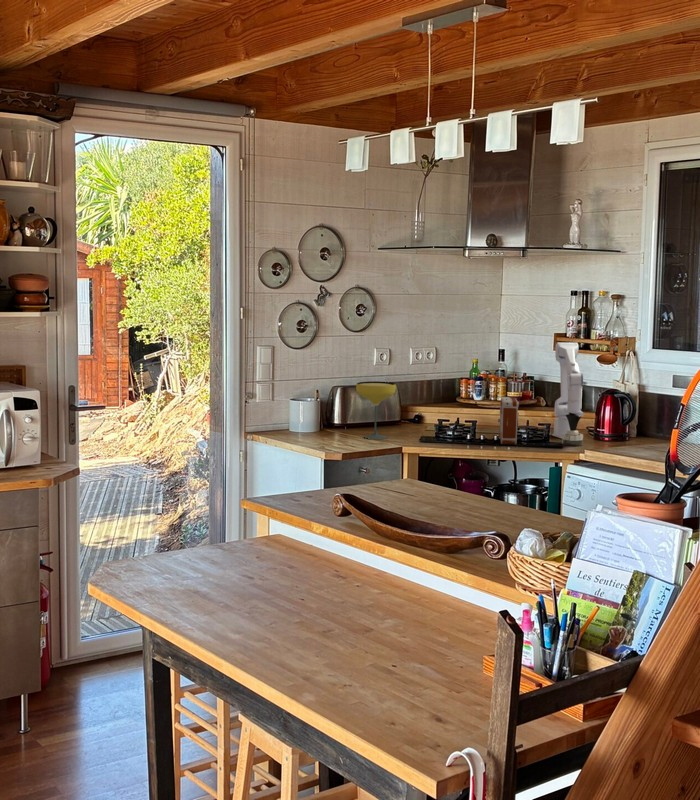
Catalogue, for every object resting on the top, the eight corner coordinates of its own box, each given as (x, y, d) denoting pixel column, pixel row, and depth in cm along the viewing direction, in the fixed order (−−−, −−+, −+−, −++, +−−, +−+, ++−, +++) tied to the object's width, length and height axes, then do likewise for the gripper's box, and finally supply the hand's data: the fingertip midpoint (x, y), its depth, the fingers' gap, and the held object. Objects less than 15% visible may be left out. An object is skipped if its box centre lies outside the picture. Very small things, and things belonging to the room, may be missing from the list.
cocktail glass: (388, 433, 472) (389, 380, 469) (400, 440, 455) (400, 385, 452) (351, 435, 468) (351, 381, 464) (361, 441, 450) (362, 386, 447)
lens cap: (564, 438, 451) (565, 429, 450) (574, 437, 452) (575, 429, 451) (569, 439, 446) (570, 431, 445) (580, 439, 447) (580, 431, 446)
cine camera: (516, 438, 464) (517, 395, 461) (519, 445, 445) (520, 400, 442) (496, 437, 465) (497, 394, 462) (498, 445, 446) (499, 400, 443)
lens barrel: (558, 442, 452) (558, 433, 452) (576, 442, 455) (577, 432, 454) (567, 446, 444) (568, 436, 443) (586, 445, 446) (586, 435, 445)
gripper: (558, 398, 452) (557, 428, 454) (573, 402, 438) (572, 433, 440) (572, 397, 454) (571, 427, 456) (588, 402, 440) (587, 432, 442)
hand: (572, 430), depth 448 cm, fingers closed
